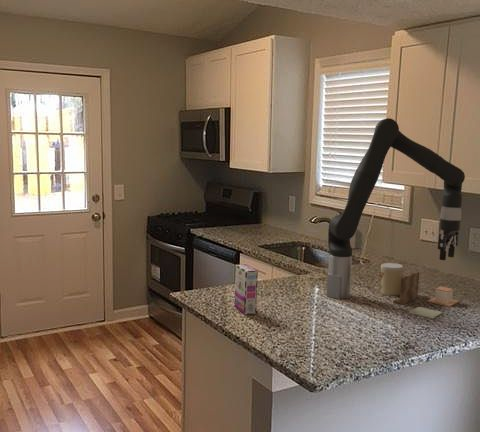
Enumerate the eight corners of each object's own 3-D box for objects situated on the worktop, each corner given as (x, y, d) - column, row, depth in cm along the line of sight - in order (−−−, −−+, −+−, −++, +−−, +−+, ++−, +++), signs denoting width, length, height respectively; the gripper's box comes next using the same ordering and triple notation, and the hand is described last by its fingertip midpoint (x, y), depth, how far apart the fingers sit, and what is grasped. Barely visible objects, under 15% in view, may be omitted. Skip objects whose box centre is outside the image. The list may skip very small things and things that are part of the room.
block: (446, 303, 207) (447, 291, 206) (434, 300, 210) (435, 288, 209) (451, 300, 210) (452, 288, 210) (439, 298, 214) (440, 286, 213)
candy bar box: (257, 314, 190) (258, 270, 188) (244, 315, 188) (245, 271, 186) (246, 305, 200) (247, 263, 198) (233, 306, 199) (234, 264, 196)
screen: (402, 304, 205) (404, 277, 204) (392, 302, 208) (394, 275, 206) (417, 297, 215) (419, 271, 214) (408, 295, 218) (410, 269, 217)
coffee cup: (382, 288, 228) (384, 261, 226) (404, 292, 223) (406, 264, 221) (376, 293, 220) (377, 265, 218) (398, 297, 215) (400, 269, 213)
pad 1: (432, 318, 190) (432, 317, 189) (409, 312, 196) (409, 311, 195) (442, 313, 196) (442, 312, 196) (419, 307, 202) (419, 306, 202)
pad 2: (450, 306, 204) (450, 305, 204) (427, 301, 210) (427, 300, 210) (458, 302, 211) (458, 300, 211) (436, 297, 217) (436, 296, 217)
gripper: (453, 221, 198) (449, 262, 200) (466, 217, 208) (463, 257, 210) (433, 218, 203) (430, 259, 205) (448, 215, 213) (444, 254, 215)
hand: (446, 258), depth 208 cm, fingers open, 8 cm apart
